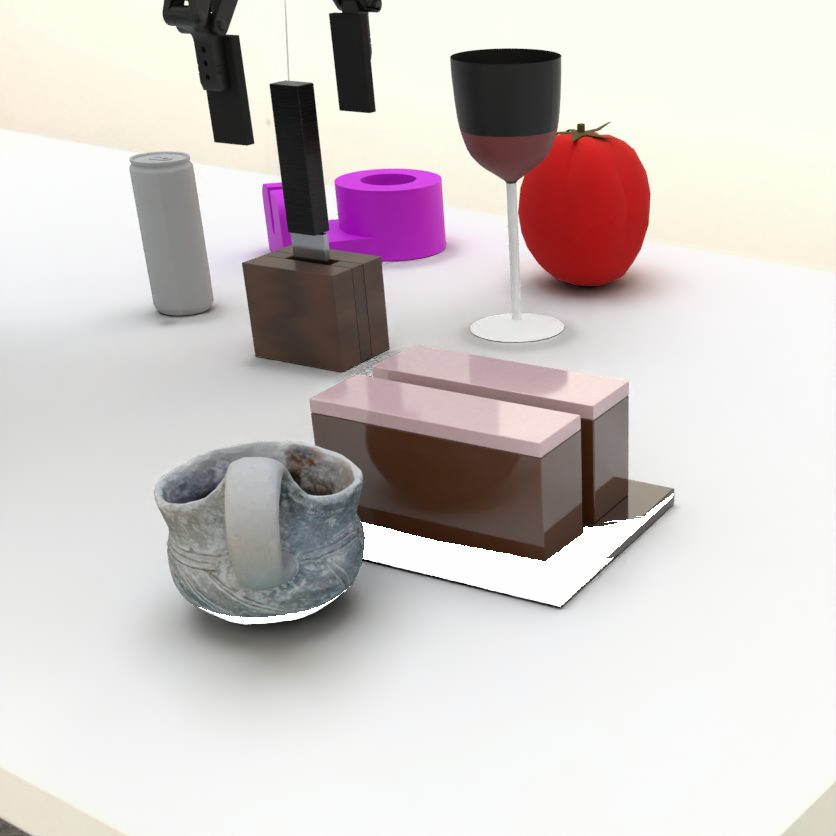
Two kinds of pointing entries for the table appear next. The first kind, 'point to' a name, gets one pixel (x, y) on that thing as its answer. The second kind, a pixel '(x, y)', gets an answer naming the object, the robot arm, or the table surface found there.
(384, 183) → the tape dispenser
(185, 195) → the beverage can
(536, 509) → the cake
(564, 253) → the tomato
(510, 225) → the wineglass
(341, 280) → the knife block
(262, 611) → the mug
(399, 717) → the table surface
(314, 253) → the knife
